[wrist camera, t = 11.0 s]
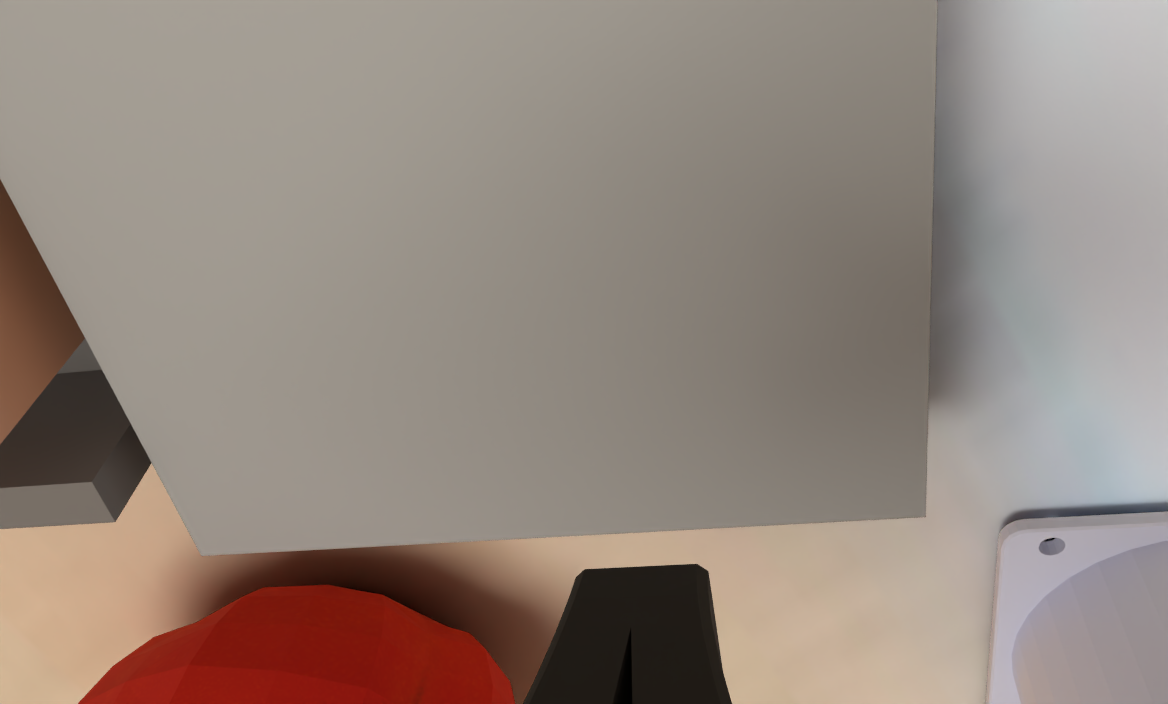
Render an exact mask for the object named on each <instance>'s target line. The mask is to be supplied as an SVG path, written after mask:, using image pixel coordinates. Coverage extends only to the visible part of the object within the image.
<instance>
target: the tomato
mask: <svg viewBox="0 0 1168 704" xmlns="http://www.w3.org/2000/svg"><path fill="white" fill-rule="evenodd" d="M78 704H515V700H514V696H513V692H512V688H511V684H510V681H509V680H508V678H507V677H506V676H505V674H504V673H503V672H502V670H501V669H500V668H499V666H498V665H497V664H496V662H495V661H494V660H493V658H492V657H491V656H490V654H489V653H488V652H487V650H486V649H485V648H484V647H483V646H482V645H481V644H480V643H479V642H478V641H477V640H476V639H475V638H474V637H473V636H472V635H471V634H470V633H468V632H465V631H461V630H457V629H454V628H450V627H448V626H446V625H443V624H441V623H439V622H437V621H435V620H433V619H431V618H428V617H426V616H424V615H422V614H420V613H418V612H416V611H414V610H412V609H410V608H408V607H406V606H404V605H402V604H400V603H398V602H396V601H394V600H392V599H390V598H388V597H386V596H384V595H382V594H376V593H370V592H363V591H358V590H353V589H348V588H343V587H338V586H333V585H310V586H285V587H264V588H261V589H259V590H257V591H254V592H252V593H250V594H247V595H245V596H243V597H241V598H239V599H237V600H235V601H234V602H232V603H230V604H228V605H227V606H225V607H223V608H221V609H219V610H218V611H216V612H214V613H212V614H210V615H209V616H207V617H205V618H203V619H202V620H200V621H198V622H196V623H194V624H190V625H187V626H184V627H181V628H178V629H176V630H173V631H170V632H167V633H164V634H161V635H159V636H156V637H153V638H152V639H151V640H149V641H148V642H146V643H145V644H143V645H142V646H141V647H139V648H138V649H136V650H135V651H134V652H132V653H131V654H129V655H128V656H127V657H125V658H124V659H122V660H121V661H119V662H118V663H117V664H115V665H114V666H113V667H112V668H111V669H110V670H109V671H108V672H107V673H106V674H105V675H104V676H103V677H102V678H101V679H100V681H99V682H98V683H97V684H96V685H95V686H94V687H93V688H92V689H91V690H90V691H89V692H88V693H87V694H86V695H85V697H84V698H83V699H82V700H81V701H80V702H79V703H78Z"/></svg>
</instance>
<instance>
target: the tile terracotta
mask: <svg viewBox="0 0 1168 704" xmlns="http://www.w3.org/2000/svg"><path fill="white" fill-rule="evenodd" d="M84 339H85V337H84V335H83V333H82V331H81V329H80V327H79V326H78V324H77V322H76V320H75V318H74V316H73V314H72V313H71V311H70V309H69V307H68V305H67V303H66V301H65V299H64V298H63V296H62V294H61V292H60V290H59V288H58V286H57V284H56V283H55V281H54V279H53V277H52V275H51V273H50V271H49V269H48V268H47V266H46V264H45V262H44V260H43V258H42V256H41V254H40V253H39V251H38V249H37V247H36V245H35V243H34V241H33V239H32V238H31V236H30V234H29V232H28V230H27V228H26V226H25V224H24V223H23V221H22V219H21V217H20V215H19V213H18V211H17V209H16V208H15V206H14V204H13V202H12V200H11V198H10V196H9V194H8V193H7V191H6V189H5V187H4V185H3V183H2V181H1V179H0V444H1V443H2V442H3V440H4V439H5V438H6V437H7V435H8V434H9V433H10V432H11V430H12V429H13V428H14V427H15V425H16V424H17V423H18V422H19V420H20V419H21V418H22V417H23V415H24V414H25V413H26V412H27V410H28V409H29V408H30V407H31V405H32V404H33V403H34V402H35V400H36V399H37V398H38V397H39V395H40V394H41V393H42V392H43V390H44V389H45V388H46V386H47V385H48V384H49V383H50V381H51V380H52V379H53V378H54V376H55V375H56V374H57V373H58V371H59V370H60V369H61V368H62V366H63V365H64V364H65V363H66V361H67V360H68V359H69V358H70V356H71V355H72V354H73V353H74V351H75V350H76V349H77V348H78V346H79V345H80V344H81V343H82V341H83V340H84Z"/></svg>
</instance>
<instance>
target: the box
mask: <svg viewBox="0 0 1168 704" xmlns="http://www.w3.org/2000/svg"><path fill="white" fill-rule="evenodd" d="M151 463H152V462H151V461H150V459H149V457H148V455H147V453H146V451H145V449H144V447H143V446H142V444H141V442H140V440H139V438H138V436H137V434H136V432H135V431H134V429H133V427H132V425H131V423H130V421H129V419H128V417H127V416H126V414H125V412H124V410H123V408H122V406H121V404H120V402H119V401H118V399H117V397H116V395H115V393H114V391H113V389H112V387H111V386H110V384H109V382H108V380H107V378H106V376H105V374H104V372H103V371H102V369H101V367H100V365H99V363H98V361H97V359H96V357H95V356H94V354H93V352H92V350H91V348H90V346H89V344H88V342H87V341H86V339H84V340H83V341H82V343H81V344H80V345H79V346H78V348H77V349H76V350H75V351H74V353H73V354H72V355H71V356H70V358H69V359H68V360H67V361H66V363H65V364H64V365H63V366H62V368H61V369H60V370H59V371H58V373H57V374H56V375H55V376H54V378H53V379H52V380H51V381H50V383H49V384H48V385H47V386H46V388H45V389H44V390H43V392H42V393H41V394H40V395H39V397H38V398H37V399H36V400H35V402H34V403H33V404H32V405H31V407H30V408H29V409H28V410H27V412H26V413H25V414H24V415H23V417H22V418H21V419H20V420H19V422H18V423H17V424H16V425H15V427H14V428H13V429H12V430H11V432H10V433H9V434H8V435H7V437H6V438H5V439H4V440H3V442H2V443H1V444H0V529H9V528H26V527H42V526H59V525H75V524H92V523H108V522H116V520H117V518H118V517H119V515H120V513H121V512H122V510H123V509H124V507H125V505H126V504H127V502H128V500H129V499H130V497H131V495H132V494H133V492H134V491H135V489H136V487H137V486H138V484H139V482H140V481H141V479H142V478H143V476H144V474H145V473H146V471H147V469H148V468H149V466H150V464H151Z"/></svg>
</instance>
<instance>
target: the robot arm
mask: <svg viewBox="0 0 1168 704" xmlns="http://www.w3.org/2000/svg"><path fill="white" fill-rule="evenodd" d="M1049 538H1055V539H1054V540H1051V541H1047V542H1044V540H1046V539H1049ZM523 704H732V702H731V699H730V695H729V692H728V688H727V685H726V681H725V678H724V674H723V669H722V662H721V656H720V649H719V642H718V635H717V628H716V621H715V614H714V607H713V600H712V593H711V587H710V580H709V573H708V571H707V570H705V569H704V568H702V567H701V566H699V565H698V564H687V565H666V566H645V567H624V568H604V569H585V570H583V571H582V572H581V573H580V574H579V575H578V576H577V577H576V579H575V582H574V585H573V588H572V591H571V594H570V596H569V599H568V602H567V605H566V607H565V610H564V612H563V615H562V618H561V620H560V623H559V625H558V628H557V630H556V632H555V635H554V637H553V640H552V642H551V644H550V647H549V649H548V651H547V653H546V656H545V658H544V660H543V662H542V665H541V667H540V669H539V671H538V674H537V676H536V678H535V680H534V682H533V685H532V687H531V689H530V691H529V693H528V695H527V697H526V699H525V701H524V703H523ZM985 704H1168V511H1167V512H1148V513H1129V514H1110V515H1091V516H1072V517H1053V518H1034V519H1021V520H1016V521H1013V522H1011V523H1009V524H1007V525H1006V526H1005V527H1004V528H1003V529H1002V530H1001V531H1000V534H999V537H998V548H997V561H996V574H995V586H994V599H993V612H992V624H991V637H990V650H989V663H988V675H987V688H986V701H985Z"/></svg>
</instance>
